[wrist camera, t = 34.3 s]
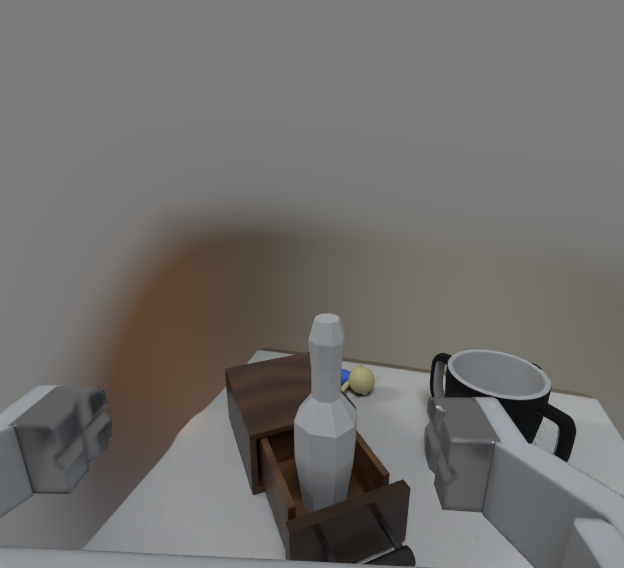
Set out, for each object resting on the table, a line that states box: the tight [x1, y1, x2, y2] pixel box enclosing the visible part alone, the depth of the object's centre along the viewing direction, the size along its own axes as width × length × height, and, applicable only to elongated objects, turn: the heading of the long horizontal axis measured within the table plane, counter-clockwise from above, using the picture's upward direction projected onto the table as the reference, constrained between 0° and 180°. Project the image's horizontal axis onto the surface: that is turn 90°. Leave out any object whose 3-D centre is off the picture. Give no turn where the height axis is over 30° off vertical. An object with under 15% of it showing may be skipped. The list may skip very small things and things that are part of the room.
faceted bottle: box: [294, 313, 357, 513], centre depth 38 cm, size 6×6×22 cm
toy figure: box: [341, 365, 375, 396], centre depth 67 cm, size 11×9×5 cm
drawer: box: [256, 429, 416, 567], centre depth 40 cm, size 19×12×7 cm, turn 22°
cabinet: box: [225, 352, 356, 495], centre depth 53 cm, size 16×14×9 cm
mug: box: [430, 350, 576, 462], centre depth 51 cm, size 16×16×12 cm
